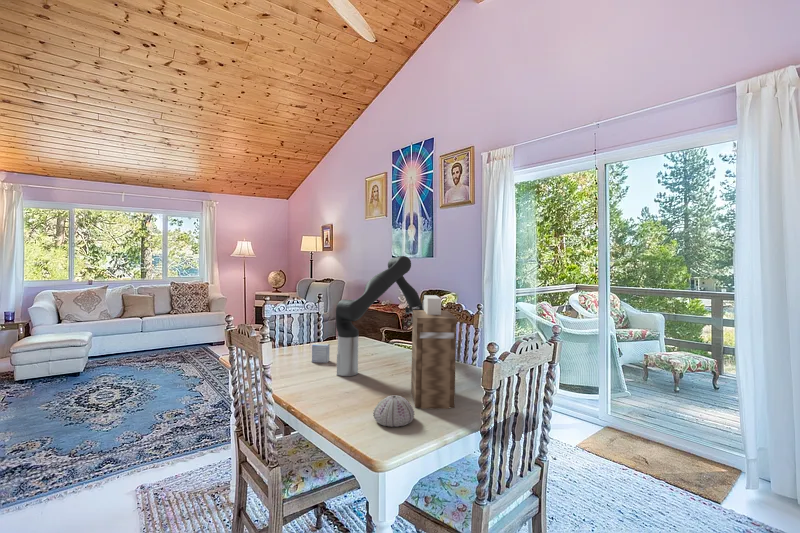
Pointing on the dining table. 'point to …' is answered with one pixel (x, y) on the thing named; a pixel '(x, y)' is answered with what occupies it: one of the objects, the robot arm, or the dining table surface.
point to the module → (432, 304)
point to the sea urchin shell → (394, 411)
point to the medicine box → (320, 353)
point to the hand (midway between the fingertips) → (420, 308)
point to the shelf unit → (433, 360)
